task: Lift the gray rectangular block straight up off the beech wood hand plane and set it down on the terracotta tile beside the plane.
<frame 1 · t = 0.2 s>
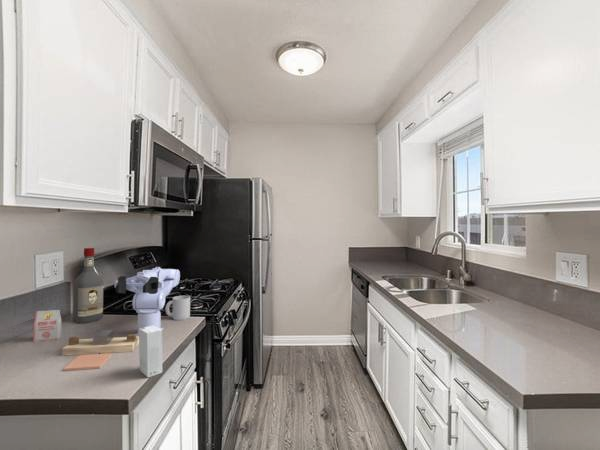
hand: (130, 289, 95), 21 cm above the table, tool horizontal, fingers open, 7 cm apart
white red printed carton: (47, 339, 108), on the table
skincare box: (150, 372, 87), on the table
liquor: (88, 320, 130), on the table
terracotta tile: (89, 362, 92), on the table
hand plane: (103, 348, 101), on the table
gray rectangular block: (103, 342, 101), point 2 cm above the table, touching hand plane
cup: (177, 318, 134), on the table
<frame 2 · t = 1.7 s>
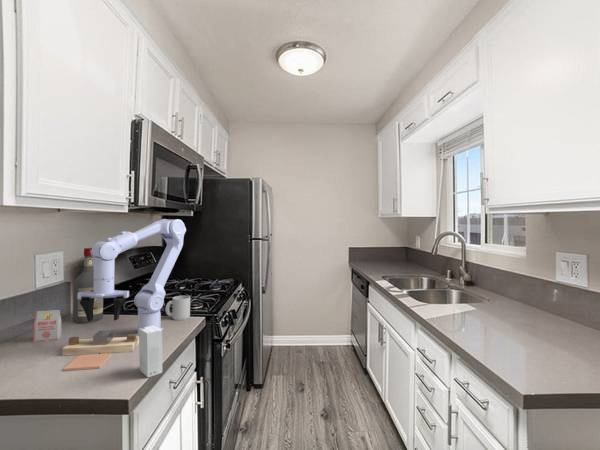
hand: (103, 320, 101), 9 cm above the table, tool pointing down, fingers open, 7 cm apart
nothing on the table moved.
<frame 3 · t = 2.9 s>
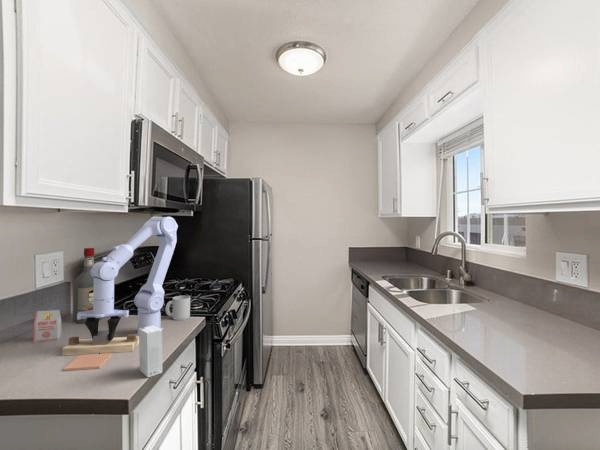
hand: (103, 339, 101), 3 cm above the table, tool pointing down, fingers closed on gray rectangular block, 4 cm apart
gray rectangular block: (103, 342, 101), point 2 cm above the table, touching gripper, hand plane
everything else where it was.
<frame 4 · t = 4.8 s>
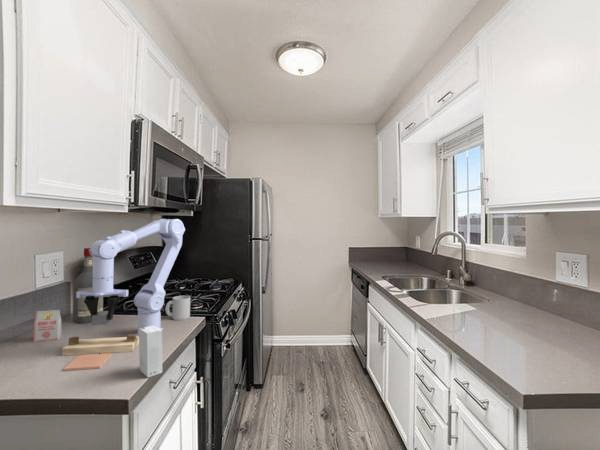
hand: (102, 319, 101), 10 cm above the table, tool pointing down, fingers closed on gray rectangular block, 4 cm apart
gray rectangular block: (102, 322, 100), point 9 cm above the table, touching gripper
everything else where it was.
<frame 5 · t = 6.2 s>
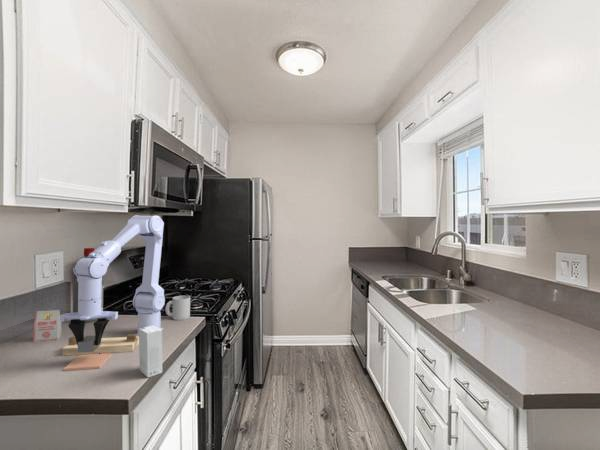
hand: (89, 344, 91), 5 cm above the table, tool pointing down, fingers closed on gray rectangular block, 4 cm apart
gray rectangular block: (89, 348, 92), point 4 cm above the table, touching gripper
everything else where it was.
when the fingers open (3 cm above the table, at t = 7.1 s): gray rectangular block stays where it is, resting on terracotta tile.
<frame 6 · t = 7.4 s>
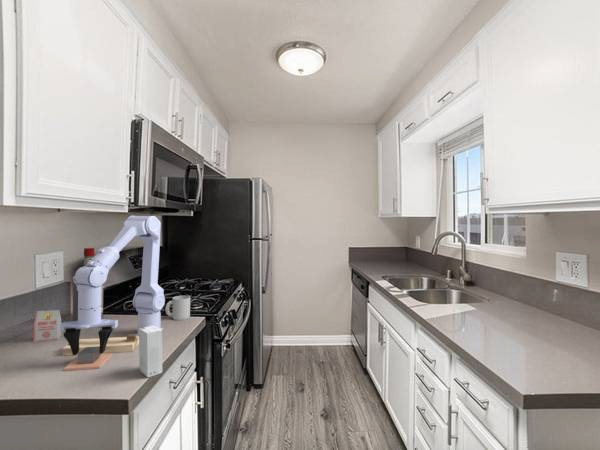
hand: (89, 352, 92), 3 cm above the table, tool pointing down, fingers open, 6 cm apart
gray rectangular block: (89, 360, 92), point 1 cm above the table, touching terracotta tile
everything else where it was.
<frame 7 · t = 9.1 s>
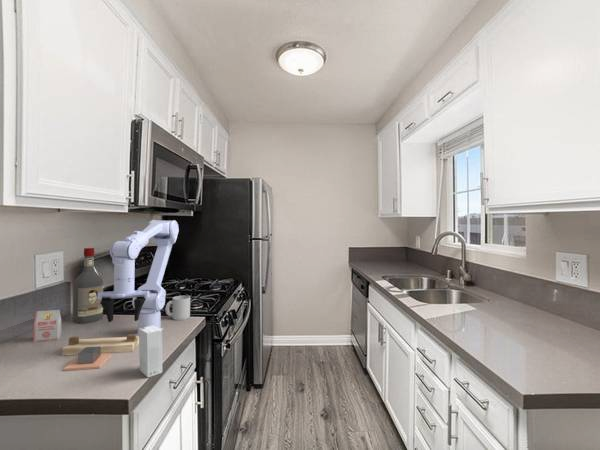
hand: (123, 320, 100), 10 cm above the table, tool pointing down, fingers open, 7 cm apart
nothing on the table moved.
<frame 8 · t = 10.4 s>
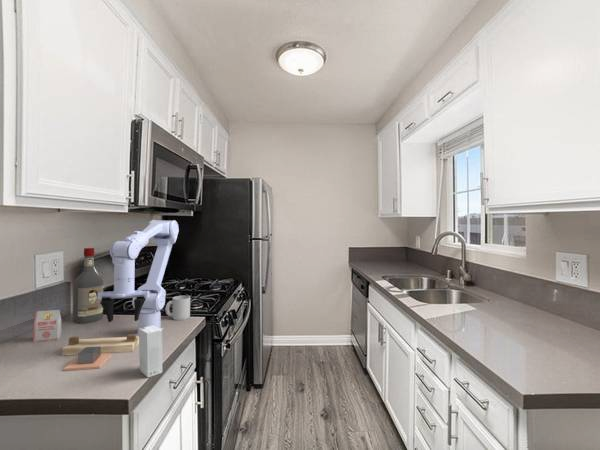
hand: (123, 320, 100), 10 cm above the table, tool pointing down, fingers open, 7 cm apart
nothing on the table moved.
at the end: gray rectangular block inside the target area on the terracotta tile (0.2 cm from its centre), point 0.6 cm above the terracotta tile's base; gray rectangular block touching terracotta tile; the gripper is holding nothing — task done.
